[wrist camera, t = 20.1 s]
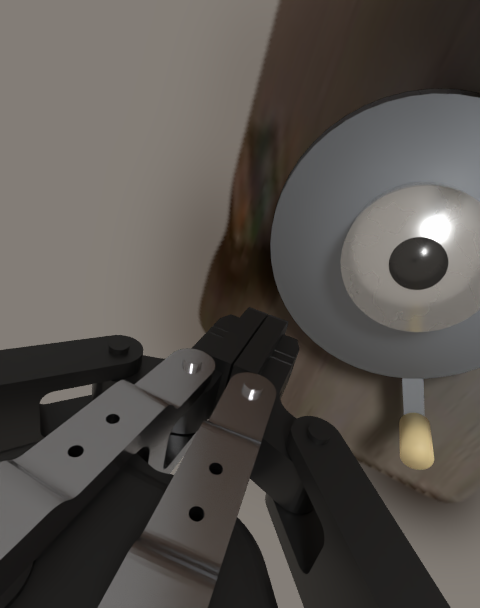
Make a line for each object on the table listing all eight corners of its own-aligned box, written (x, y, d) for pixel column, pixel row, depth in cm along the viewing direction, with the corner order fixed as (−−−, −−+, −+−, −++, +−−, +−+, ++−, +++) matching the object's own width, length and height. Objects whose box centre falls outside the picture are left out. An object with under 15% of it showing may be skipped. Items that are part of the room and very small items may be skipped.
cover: (322, 224, 30) (315, 233, 28) (459, 151, 26) (467, 152, 23) (379, 333, 32) (378, 351, 29) (519, 283, 27) (533, 299, 24)
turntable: (234, 191, 34) (205, 200, 29) (510, 22, 24) (542, -11, 19) (362, 433, 38) (357, 479, 33) (639, 374, 28) (695, 426, 23)
